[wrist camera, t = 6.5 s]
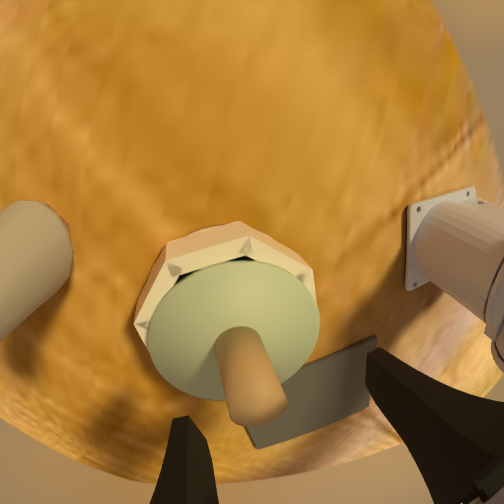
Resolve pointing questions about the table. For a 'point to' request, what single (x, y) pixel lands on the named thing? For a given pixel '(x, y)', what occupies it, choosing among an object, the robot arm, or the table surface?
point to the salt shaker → (30, 260)
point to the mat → (320, 395)
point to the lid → (235, 336)
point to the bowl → (212, 262)
